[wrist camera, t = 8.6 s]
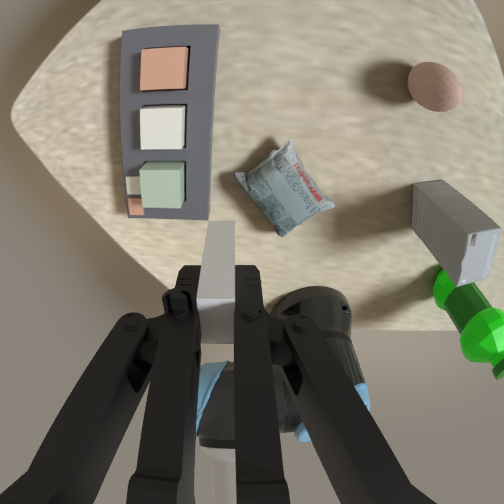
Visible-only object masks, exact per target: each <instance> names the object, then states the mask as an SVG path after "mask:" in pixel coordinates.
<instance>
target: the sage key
mask: <svg viewBox="0 0 504 504" xmlns="http://www.w3.org/2000/svg"><path fill="white" fill-rule="evenodd" d="M139 171H140V185H141V197H142V207H143V208H181V206H182V204H183V201H184V198H185V195H186V161H147V162H146V163H145V164H144V165H143V167H142V168H141V169H140V170H139Z"/></svg>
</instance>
